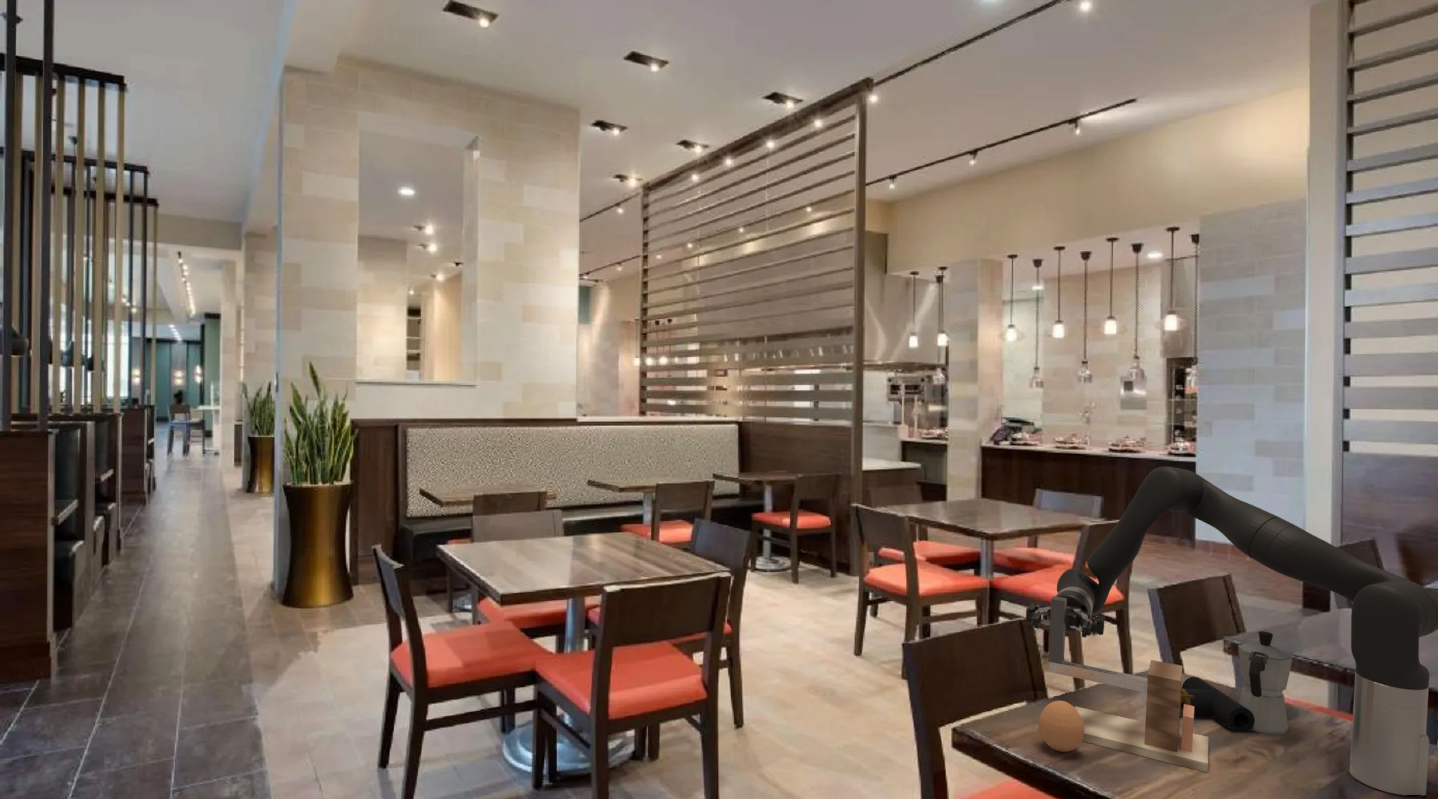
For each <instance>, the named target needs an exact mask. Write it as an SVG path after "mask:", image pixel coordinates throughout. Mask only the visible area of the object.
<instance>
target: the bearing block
mask: <svg viewBox="0 0 1438 799" xmlns="http://www.w3.org/2000/svg"><path fill="white" fill-rule="evenodd" d="M1147 678H1148V682H1147V693H1146V706H1145V707H1146V708H1145V721H1140V720H1137V719H1132V718H1127V717H1124V716H1118V715H1115V714H1111V713H1110V714H1109V713H1106V712H1102V711H1097V710H1094V709H1093V710H1092V709H1089V708H1085V707H1080V706H1075V707H1074V708H1075V709H1076V710H1077V711H1078V713H1079V715H1080V716H1081V719H1082V721H1083V725H1084V737H1083V740H1082V742H1084V741H1085V743H1089V744H1092V743H1093V744H1092V745H1097V746H1101V747H1104V748H1108V749H1112V750H1116V751H1120V752H1125V753H1128V754H1132V755H1137V756H1141V757H1144V758H1149V759H1152V760H1156V761H1160V762H1164V763H1168V764H1172V765H1176V766H1177V765H1178V766H1179V767H1180V766H1181V767H1185V768H1189V769H1193V770H1197V771H1201V772H1204V773H1208V771H1209V736H1207V735H1201V734H1197V733H1194V732H1193V742H1192V752H1188V751H1183V750H1181V742H1182V729H1181V730H1180V722H1181V719H1180V718H1181V716H1180V704H1181V688H1182V685H1183V683H1182V682H1183V680H1182V679H1183V665H1181V664H1180V665H1179V664H1174V663H1169V662H1165V661H1159V660H1154V659H1153V660H1152V659H1151V660H1150V662H1149V667H1148V672H1147Z"/></svg>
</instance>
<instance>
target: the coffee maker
mask: <svg viewBox="0 0 1438 799" xmlns="http://www.w3.org/2000/svg"><path fill="white" fill-rule="evenodd" d="M1273 636H1274V633H1272V632H1269V631H1264V630H1262V631H1258V638H1259V639H1258V640H1259V642H1258V643H1256V642H1255V643H1254V642H1253V643H1252V642H1249V643H1243V644H1237V647H1238V648H1237V649H1238V658H1239V666H1240V677H1241V679H1242V681H1243V686H1242V687H1241V692H1240V695H1239V699H1238V700H1239V701H1238V703H1239V704H1241V705H1242V706H1244V707H1245V708H1247V709H1248V710H1250V711H1251V712H1252V713H1253V715H1254V718H1255V722H1254V726H1253V728H1252V729H1251V730H1250V731H1253V732H1257V733H1261V734H1264V735H1271V736H1285V735H1286V734H1287V733H1288V731H1289V725H1288V718H1287V709H1286V701H1285V695H1284V694H1283V691H1285V690H1287V686H1288V681H1289V676H1290V672H1291V669H1292V664H1293V661H1294V660H1293V658H1294V657H1293V655H1291V653H1290V652H1289V651H1287V650H1284V649H1282V648H1278V647H1276V646H1273V645H1271V644H1272V640H1273Z"/></svg>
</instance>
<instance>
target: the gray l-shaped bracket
mask: <svg viewBox="0 0 1438 799" xmlns="http://www.w3.org/2000/svg"><path fill="white" fill-rule="evenodd" d="M1050 604H1051V615H1050V626H1049V638H1048V639H1049V641H1048V643H1049V644H1048V657H1047V658H1048V659H1047V660H1048V662H1049V669H1048V672H1049V673H1051V674H1057V675H1061V676H1067V677H1071V678H1077V679H1081V680H1084V681H1085V680H1086V681H1091V682H1094V683H1099V684H1104V685H1108V686H1114V687H1118V688H1122V689H1129V690H1131V691H1137V692H1140V693H1141V692H1142V693H1145V694H1147V682H1148V677H1144V676H1138V675H1134V674H1130V673H1124V672H1119V671H1114V670H1109V669H1105V668H1100V667H1096V666H1090V665H1085V664H1081V663H1075V662H1071V661H1070V662H1069V661H1065V648H1066V647H1065V646H1066V630H1065V628H1066V607H1067V598H1062V597H1056V595H1053V596H1052V597H1051V598H1050Z"/></svg>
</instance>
